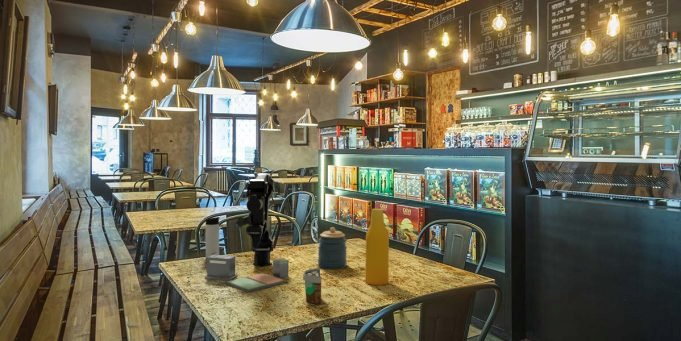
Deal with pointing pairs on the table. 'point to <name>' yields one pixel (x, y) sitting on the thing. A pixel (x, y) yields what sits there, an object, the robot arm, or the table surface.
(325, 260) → the canister
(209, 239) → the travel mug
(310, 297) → the food container
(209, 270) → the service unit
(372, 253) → the beer bottle
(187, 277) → the table surface
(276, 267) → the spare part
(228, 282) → the sorting board
